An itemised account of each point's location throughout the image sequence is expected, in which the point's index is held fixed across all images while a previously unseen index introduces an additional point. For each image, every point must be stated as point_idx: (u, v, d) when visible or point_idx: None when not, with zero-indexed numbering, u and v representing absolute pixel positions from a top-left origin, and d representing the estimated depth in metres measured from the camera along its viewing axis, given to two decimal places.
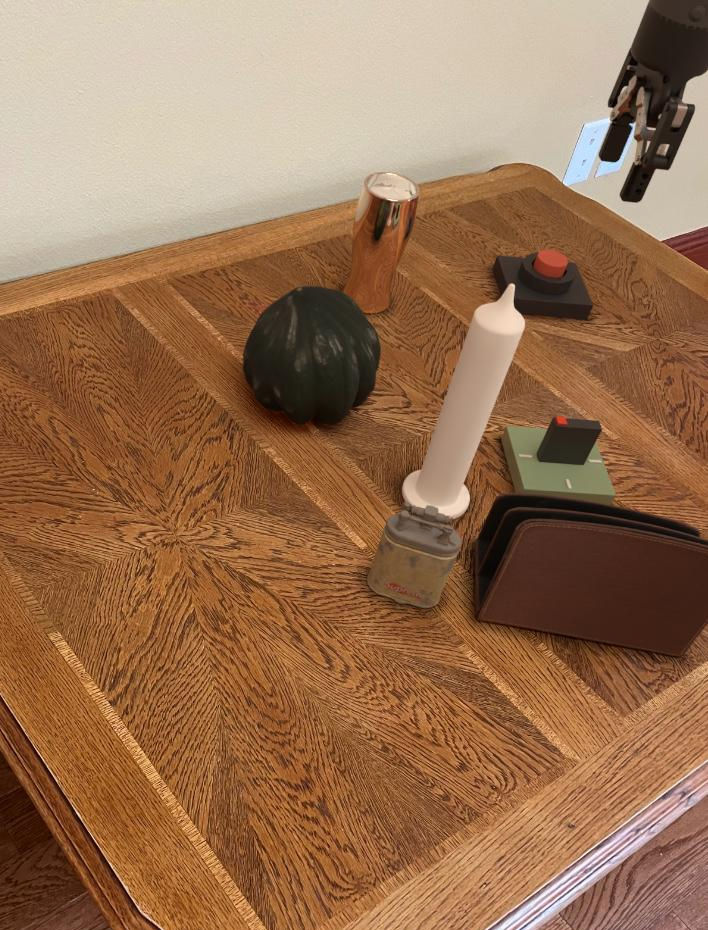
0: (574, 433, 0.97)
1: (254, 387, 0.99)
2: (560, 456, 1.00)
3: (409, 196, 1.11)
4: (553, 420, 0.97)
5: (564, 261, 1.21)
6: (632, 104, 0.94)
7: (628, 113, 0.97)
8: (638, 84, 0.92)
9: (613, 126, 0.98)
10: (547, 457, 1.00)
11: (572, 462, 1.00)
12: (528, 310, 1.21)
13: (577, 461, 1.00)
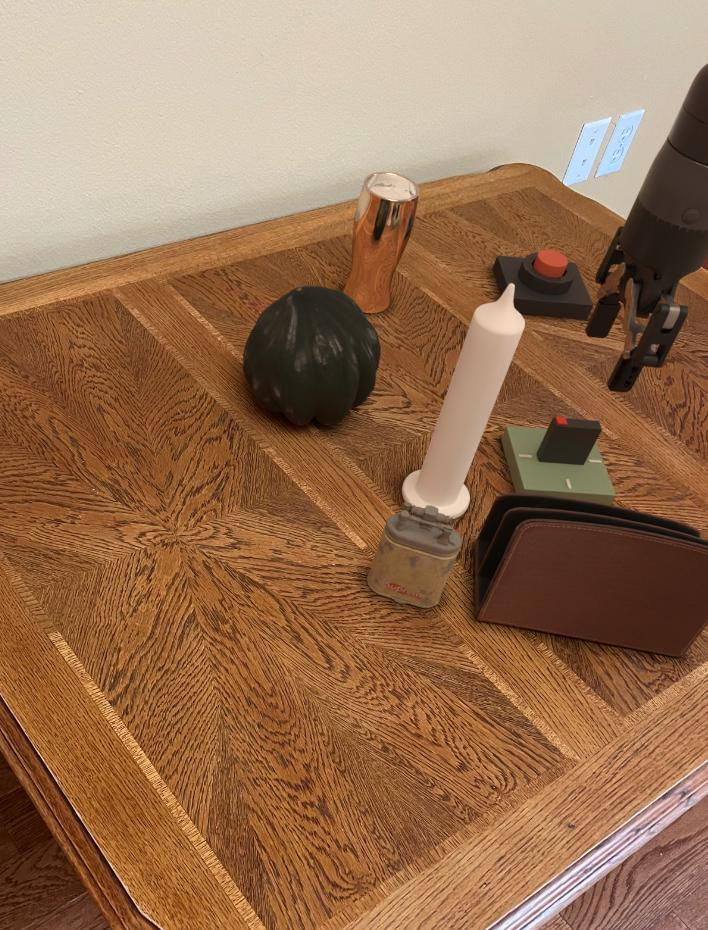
0: (574, 433, 0.97)
1: (254, 387, 0.99)
2: (560, 456, 1.00)
3: (409, 196, 1.11)
4: (553, 420, 0.97)
5: (564, 261, 1.21)
6: (621, 289, 0.87)
7: None
8: (627, 272, 0.85)
9: (601, 305, 0.91)
10: (547, 457, 1.00)
11: (572, 462, 1.00)
12: (528, 310, 1.21)
13: (577, 461, 1.00)
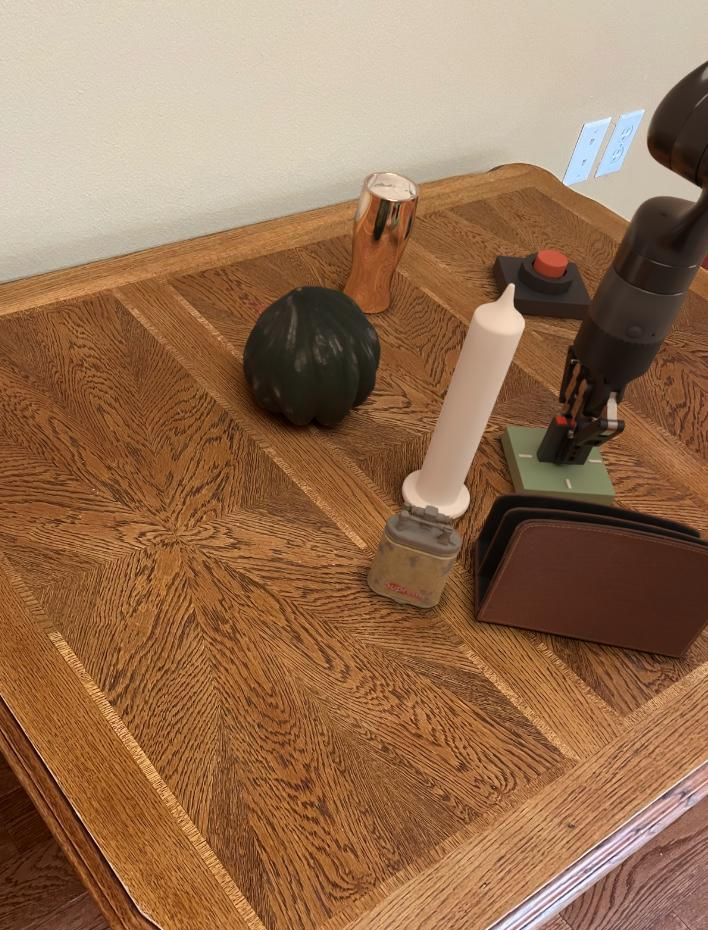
0: None
1: (254, 387, 0.99)
2: None
3: (409, 196, 1.11)
4: (553, 420, 0.97)
5: (564, 261, 1.21)
6: None
7: None
8: (582, 369, 0.93)
9: None
10: (547, 457, 1.00)
11: None
12: (528, 310, 1.21)
13: (577, 461, 1.00)
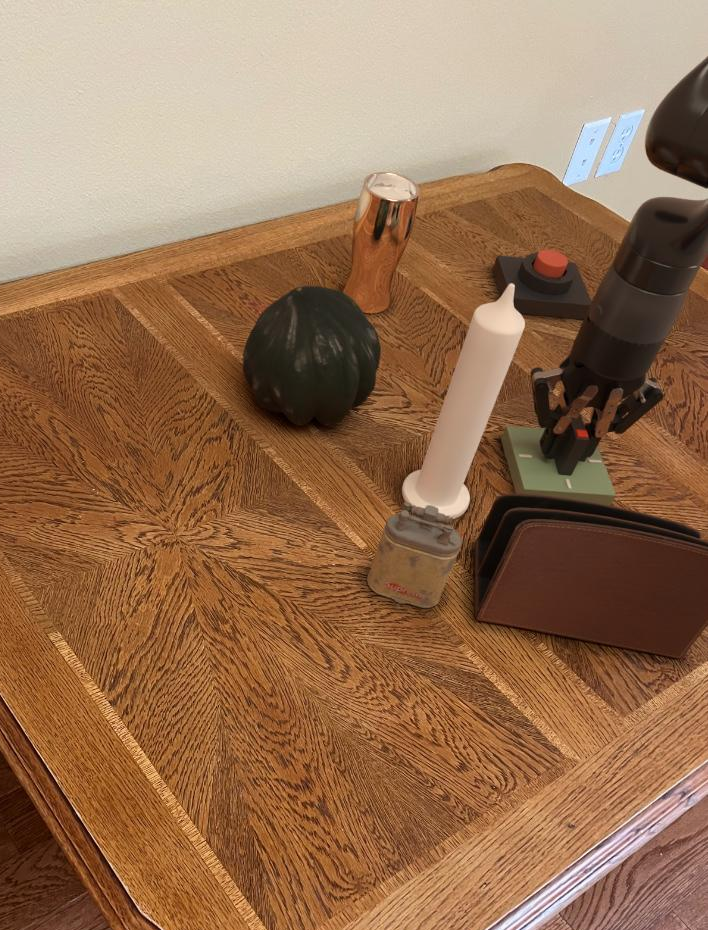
0: None
1: (254, 387, 0.99)
2: None
3: (409, 196, 1.11)
4: (579, 439, 0.96)
5: (564, 261, 1.21)
6: (590, 401, 0.93)
7: (559, 415, 0.97)
8: (596, 386, 0.91)
9: (563, 434, 0.97)
10: None
11: None
12: (528, 310, 1.21)
13: None
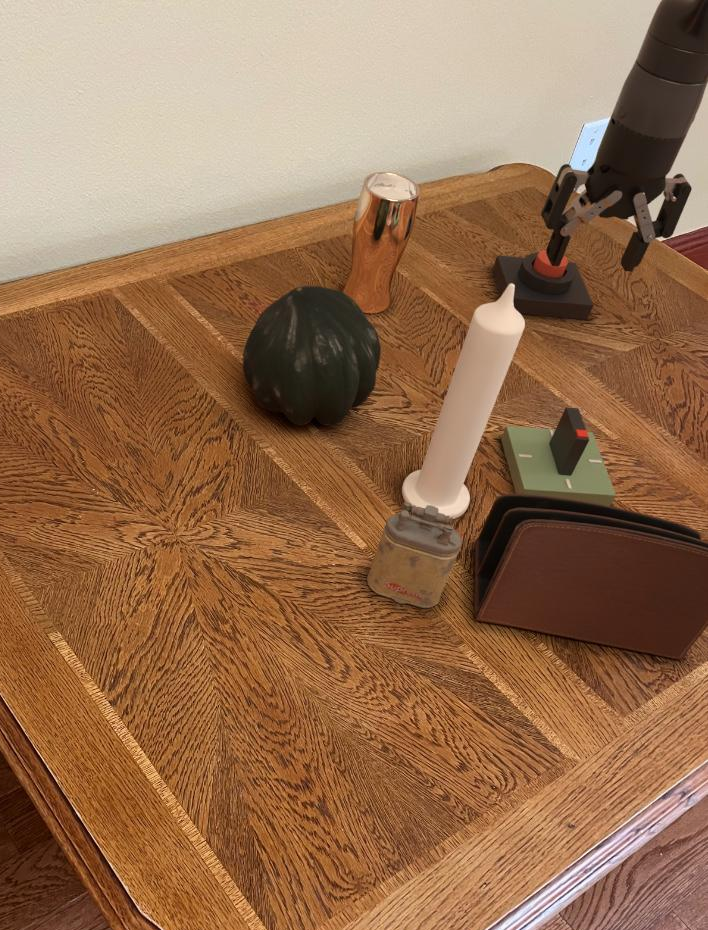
0: None
1: (254, 387, 0.99)
2: None
3: (409, 196, 1.11)
4: (579, 439, 0.96)
5: (564, 261, 1.21)
6: (605, 210, 0.99)
7: (567, 220, 1.01)
8: None
9: (570, 237, 1.01)
10: None
11: None
12: (528, 310, 1.21)
13: None
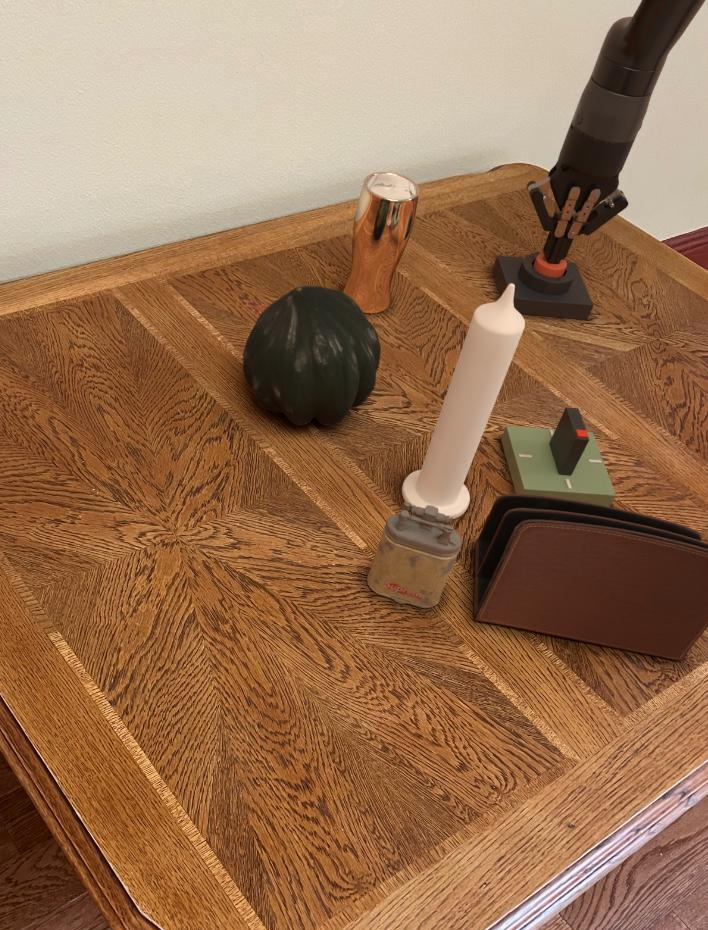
0: None
1: (254, 387, 0.99)
2: None
3: (409, 196, 1.11)
4: (579, 439, 0.96)
5: (563, 264, 1.21)
6: (578, 201, 1.14)
7: None
8: (578, 187, 1.12)
9: (563, 238, 1.18)
10: None
11: None
12: (528, 310, 1.21)
13: None
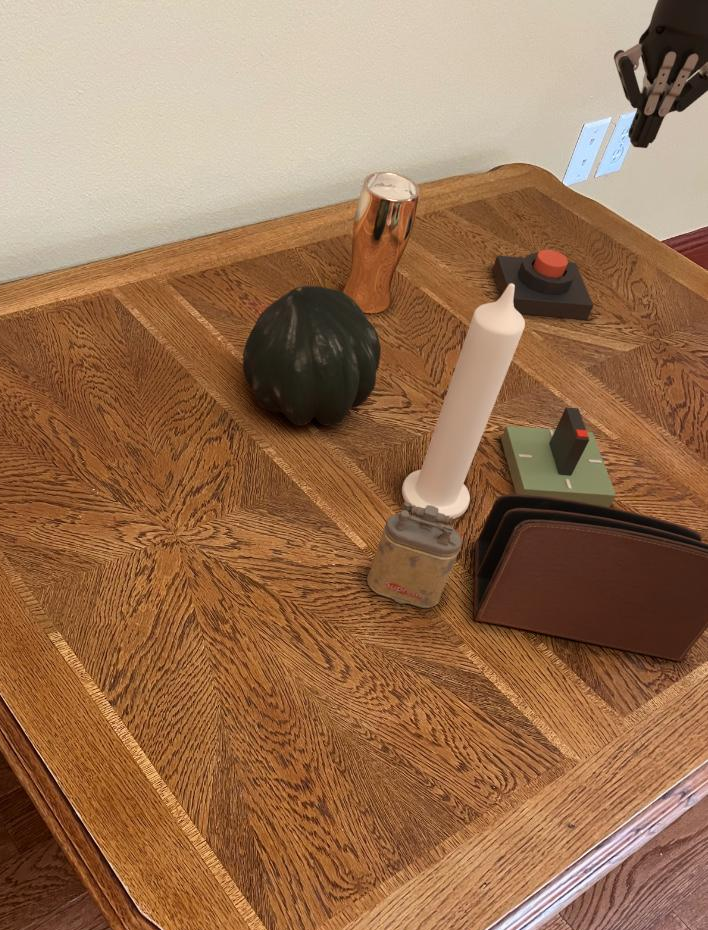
0: None
1: (254, 387, 0.99)
2: None
3: (409, 196, 1.11)
4: (579, 439, 0.96)
5: (564, 261, 1.21)
6: (672, 71, 1.03)
7: None
8: (674, 52, 1.01)
9: (653, 116, 1.07)
10: None
11: None
12: (528, 310, 1.21)
13: None
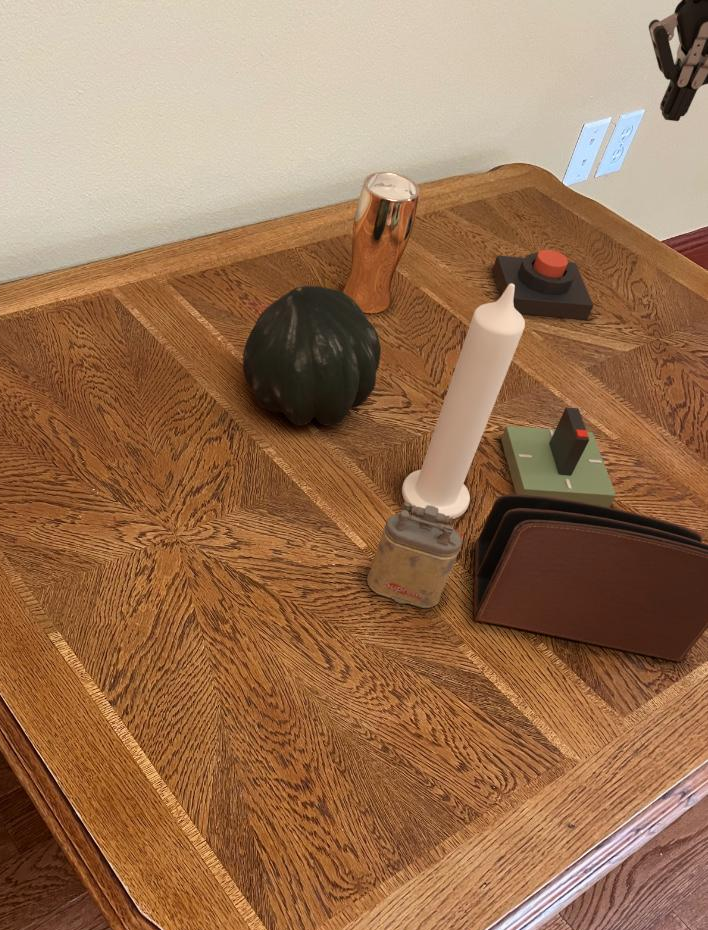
0: None
1: (254, 387, 0.99)
2: None
3: (409, 196, 1.11)
4: (579, 439, 0.96)
5: (564, 261, 1.21)
6: (707, 42, 1.02)
7: None
8: None
9: (686, 88, 1.06)
10: None
11: None
12: (528, 310, 1.21)
13: None
